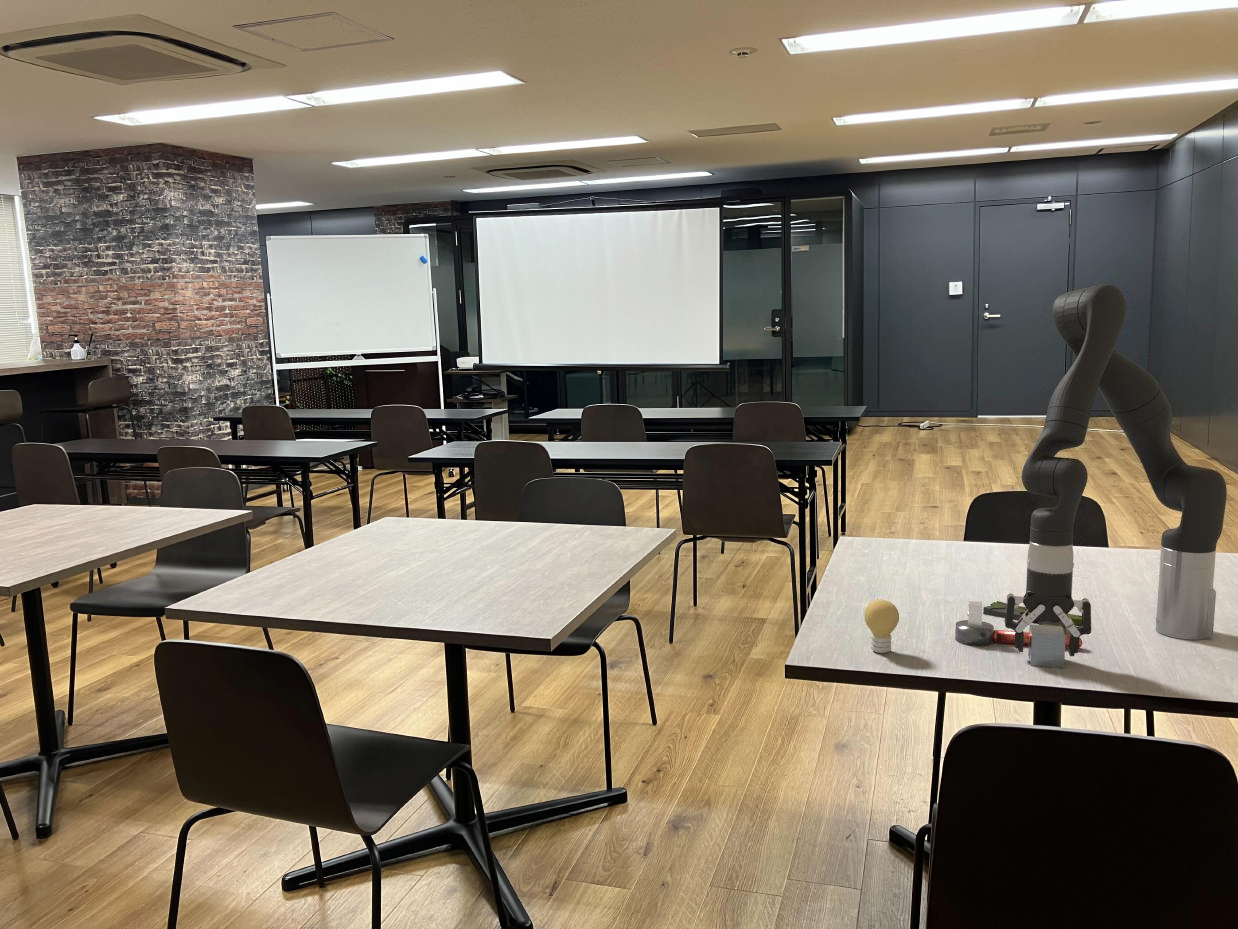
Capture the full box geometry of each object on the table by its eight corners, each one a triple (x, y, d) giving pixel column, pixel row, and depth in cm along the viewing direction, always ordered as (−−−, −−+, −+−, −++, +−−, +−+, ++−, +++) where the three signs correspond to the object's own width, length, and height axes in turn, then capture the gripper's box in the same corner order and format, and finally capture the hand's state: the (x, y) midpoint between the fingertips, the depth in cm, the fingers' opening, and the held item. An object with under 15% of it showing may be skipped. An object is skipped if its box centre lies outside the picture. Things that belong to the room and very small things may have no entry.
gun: (968, 625, 197) (993, 609, 208) (1066, 642, 185) (1087, 624, 196) (969, 613, 197) (993, 598, 208) (1067, 629, 185) (1087, 612, 196)
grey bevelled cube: (1060, 658, 175) (1061, 626, 175) (1064, 668, 170) (1065, 636, 169) (1028, 655, 177) (1029, 624, 176) (1030, 665, 172) (1032, 633, 171)
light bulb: (892, 645, 184) (893, 595, 183) (903, 656, 178) (904, 605, 177) (859, 646, 184) (860, 596, 183) (869, 657, 178) (870, 606, 176)
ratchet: (1079, 643, 183) (1081, 605, 182) (1084, 655, 177) (1086, 616, 175) (955, 633, 190) (956, 597, 189) (955, 644, 184) (956, 607, 183)
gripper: (1090, 563, 172) (1085, 649, 175) (1006, 559, 177) (1002, 642, 179) (1096, 574, 165) (1091, 663, 168) (1008, 569, 170) (1005, 656, 172)
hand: (1045, 652), depth 174 cm, fingers open, 8 cm apart
